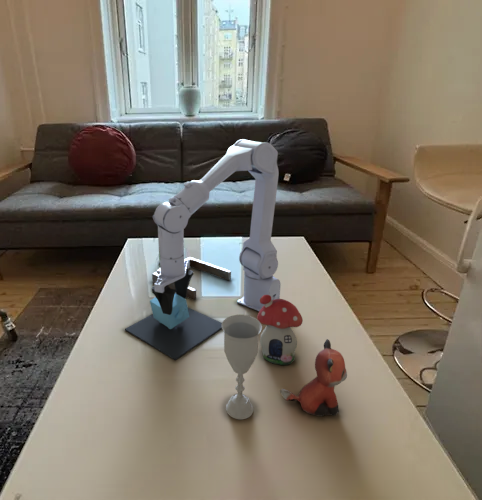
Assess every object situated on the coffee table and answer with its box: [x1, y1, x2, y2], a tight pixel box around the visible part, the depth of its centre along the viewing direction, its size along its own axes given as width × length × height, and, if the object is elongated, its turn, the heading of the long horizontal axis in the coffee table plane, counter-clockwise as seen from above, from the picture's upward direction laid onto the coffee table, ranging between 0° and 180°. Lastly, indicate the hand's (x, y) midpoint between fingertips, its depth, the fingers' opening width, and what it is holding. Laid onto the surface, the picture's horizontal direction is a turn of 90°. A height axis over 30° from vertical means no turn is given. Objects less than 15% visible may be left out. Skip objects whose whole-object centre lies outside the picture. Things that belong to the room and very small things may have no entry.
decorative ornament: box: [256, 295, 304, 366], centre depth 83 cm, size 9×6×15 cm
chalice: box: [221, 314, 263, 420], centre depth 68 cm, size 7×7×18 cm
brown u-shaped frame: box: [151, 256, 232, 301], centre depth 121 cm, size 18×17×3 cm
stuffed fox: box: [279, 338, 348, 417], centre depth 70 cm, size 8×11×12 cm
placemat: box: [124, 307, 223, 361], centre depth 97 cm, size 18×18×1 cm
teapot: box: [149, 293, 189, 329], centre depth 96 cm, size 12×6×8 cm, turn 41°
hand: (174, 305), depth 95 cm, fingers closed on teapot, 7 cm apart
